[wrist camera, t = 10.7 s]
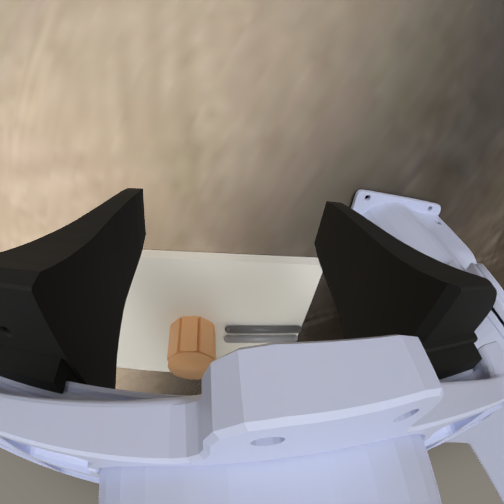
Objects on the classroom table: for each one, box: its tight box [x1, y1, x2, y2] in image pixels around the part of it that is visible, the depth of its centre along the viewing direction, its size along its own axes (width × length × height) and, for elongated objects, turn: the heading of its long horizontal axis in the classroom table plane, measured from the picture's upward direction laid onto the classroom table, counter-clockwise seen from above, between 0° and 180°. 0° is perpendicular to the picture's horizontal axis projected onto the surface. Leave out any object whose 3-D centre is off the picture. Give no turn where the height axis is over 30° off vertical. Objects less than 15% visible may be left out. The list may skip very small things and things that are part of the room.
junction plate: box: [116, 249, 323, 372], centre depth 27 cm, size 22×18×4 cm
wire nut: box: [167, 316, 216, 379], centre depth 26 cm, size 4×4×4 cm
